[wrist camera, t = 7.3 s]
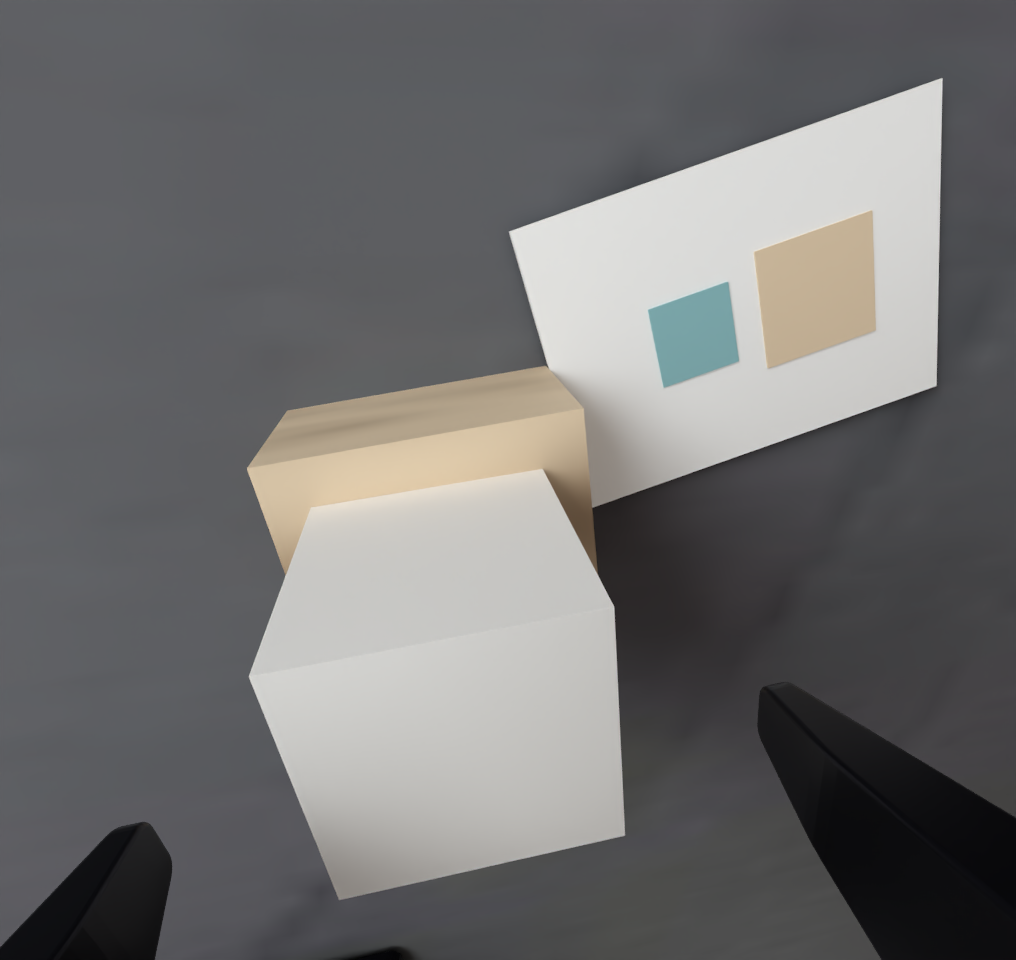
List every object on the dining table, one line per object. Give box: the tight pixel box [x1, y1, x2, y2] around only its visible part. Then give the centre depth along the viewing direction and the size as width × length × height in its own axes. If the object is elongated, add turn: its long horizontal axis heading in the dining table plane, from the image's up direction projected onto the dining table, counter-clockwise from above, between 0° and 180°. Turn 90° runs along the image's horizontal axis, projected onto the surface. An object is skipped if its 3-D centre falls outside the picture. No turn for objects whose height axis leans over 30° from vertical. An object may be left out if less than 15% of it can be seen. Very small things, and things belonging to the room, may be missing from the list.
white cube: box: [249, 469, 625, 900], centre depth 11 cm, size 5×5×5 cm
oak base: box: [247, 366, 598, 575], centre depth 15 cm, size 7×7×4 cm
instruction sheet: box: [509, 79, 942, 508], centre depth 16 cm, size 8×11×1 cm
